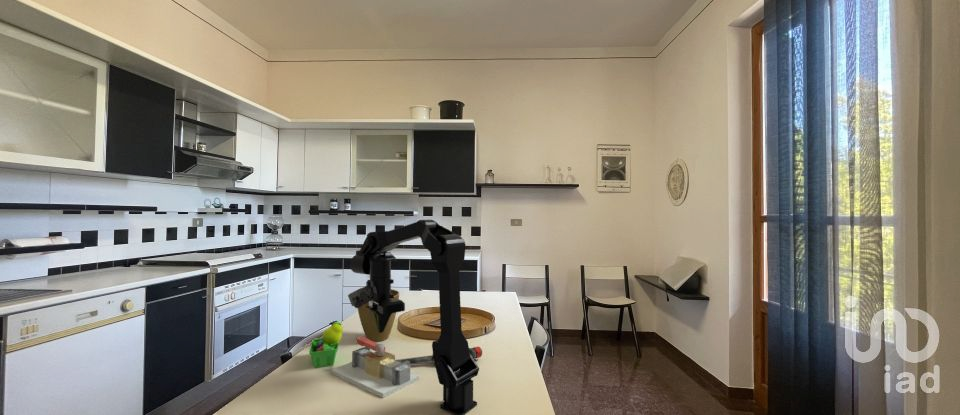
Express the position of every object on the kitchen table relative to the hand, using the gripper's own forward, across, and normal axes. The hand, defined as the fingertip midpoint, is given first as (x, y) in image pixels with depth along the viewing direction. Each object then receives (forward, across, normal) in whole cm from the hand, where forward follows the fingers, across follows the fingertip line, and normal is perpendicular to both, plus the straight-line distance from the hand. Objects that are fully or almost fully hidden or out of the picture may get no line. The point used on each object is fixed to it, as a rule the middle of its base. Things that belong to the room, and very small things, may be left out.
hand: (380, 332), depth 101 cm
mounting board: (+11, 0, -2) cm, 12 cm away
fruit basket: (+11, -18, -10) cm, 23 cm away
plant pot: (+11, -27, +10) cm, 31 cm away
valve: (+12, +2, +18) cm, 21 cm away
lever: (+5, -3, -2) cm, 6 cm away
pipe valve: (+11, +1, -1) cm, 11 cm away
